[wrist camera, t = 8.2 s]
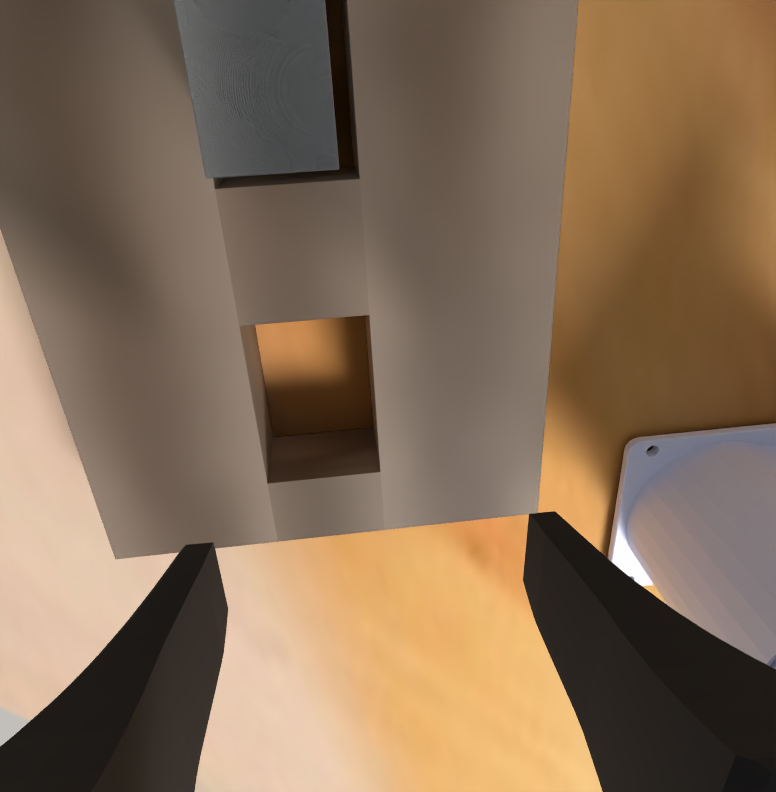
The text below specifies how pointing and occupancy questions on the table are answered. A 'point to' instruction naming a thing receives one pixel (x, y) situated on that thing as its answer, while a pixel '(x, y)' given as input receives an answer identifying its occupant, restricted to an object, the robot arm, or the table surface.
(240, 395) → the post foot
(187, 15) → the brushed metal block
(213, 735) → the table surface
